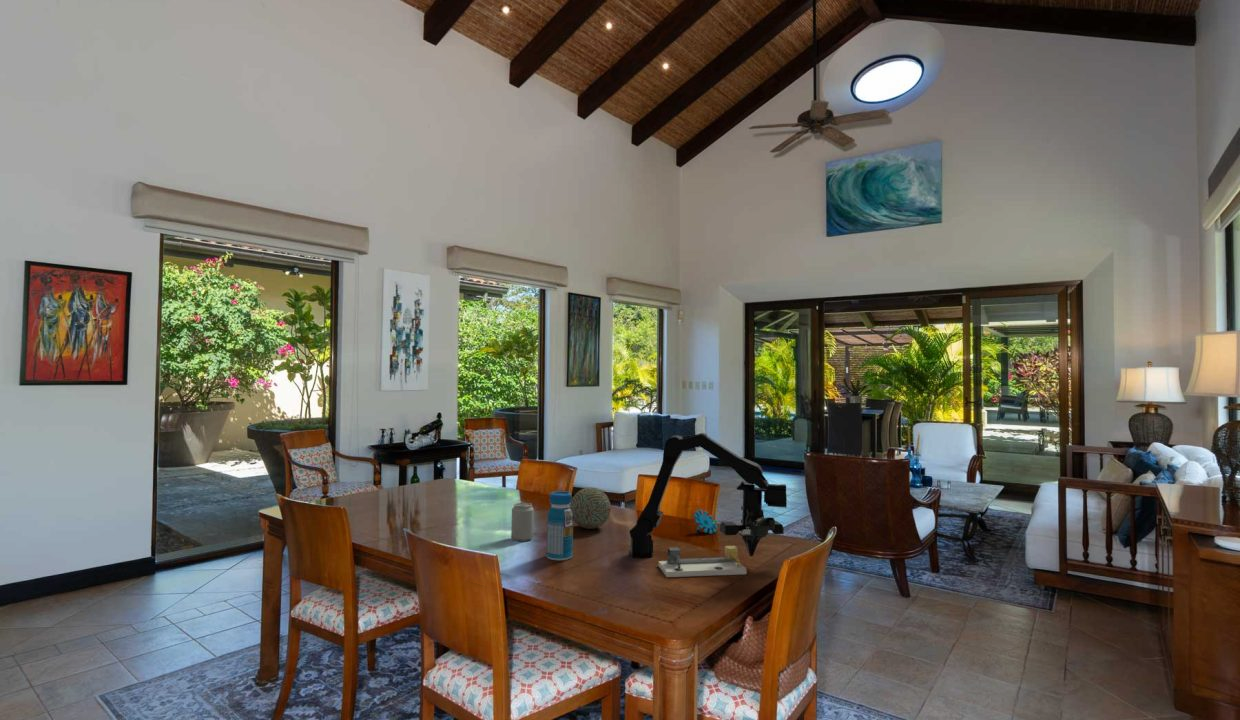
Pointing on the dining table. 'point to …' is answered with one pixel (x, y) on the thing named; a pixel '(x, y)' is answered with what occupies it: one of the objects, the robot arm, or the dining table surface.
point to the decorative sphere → (590, 508)
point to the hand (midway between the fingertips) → (750, 556)
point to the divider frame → (675, 559)
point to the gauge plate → (701, 569)
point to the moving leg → (732, 553)
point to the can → (522, 521)
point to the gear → (705, 522)
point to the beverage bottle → (560, 527)
